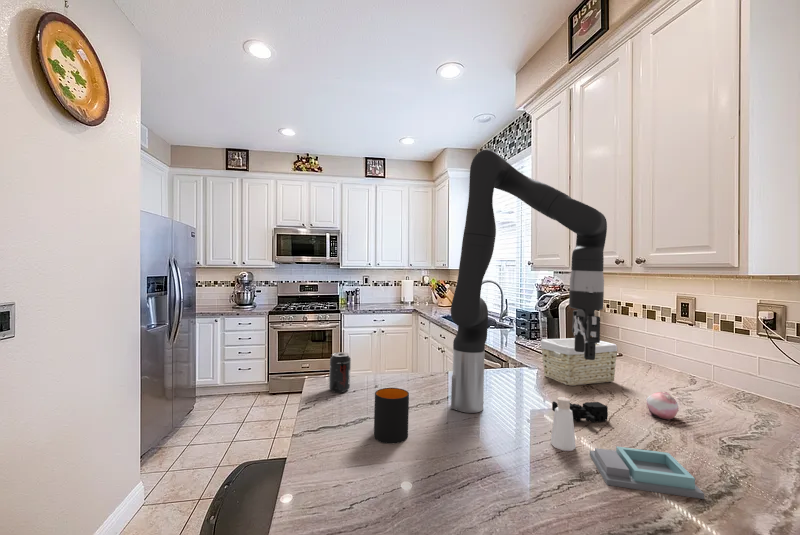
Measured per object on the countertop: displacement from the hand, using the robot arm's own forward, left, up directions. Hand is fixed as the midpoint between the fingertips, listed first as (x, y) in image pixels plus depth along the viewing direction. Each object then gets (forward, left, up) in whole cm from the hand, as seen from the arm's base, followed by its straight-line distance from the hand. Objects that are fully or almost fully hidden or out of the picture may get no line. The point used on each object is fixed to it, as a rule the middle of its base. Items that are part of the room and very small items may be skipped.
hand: (584, 355), depth 90 cm
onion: (+27, +23, -21) cm, 41 cm away
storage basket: (+12, +57, -21) cm, 62 cm away
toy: (+3, +13, -21) cm, 25 cm away
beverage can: (-70, +16, -21) cm, 75 cm away
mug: (-46, -10, -21) cm, 52 cm away
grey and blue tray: (+8, -14, -21) cm, 26 cm away
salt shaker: (-5, -5, -21) cm, 22 cm away
